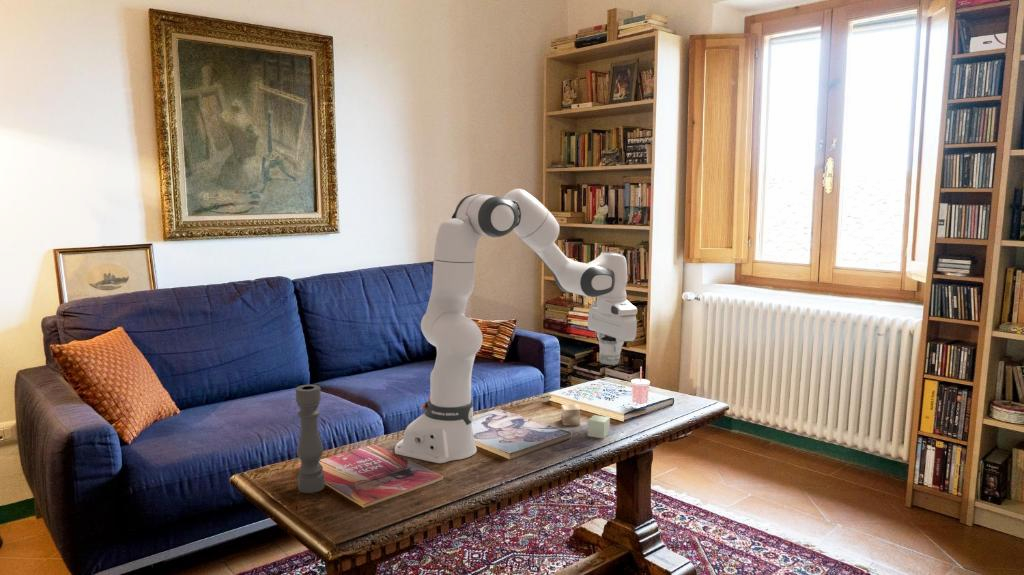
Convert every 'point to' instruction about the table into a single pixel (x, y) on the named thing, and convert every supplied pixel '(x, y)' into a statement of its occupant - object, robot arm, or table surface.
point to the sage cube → (598, 426)
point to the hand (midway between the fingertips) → (610, 349)
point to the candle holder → (309, 440)
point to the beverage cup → (640, 389)
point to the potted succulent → (608, 351)
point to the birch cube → (570, 414)
